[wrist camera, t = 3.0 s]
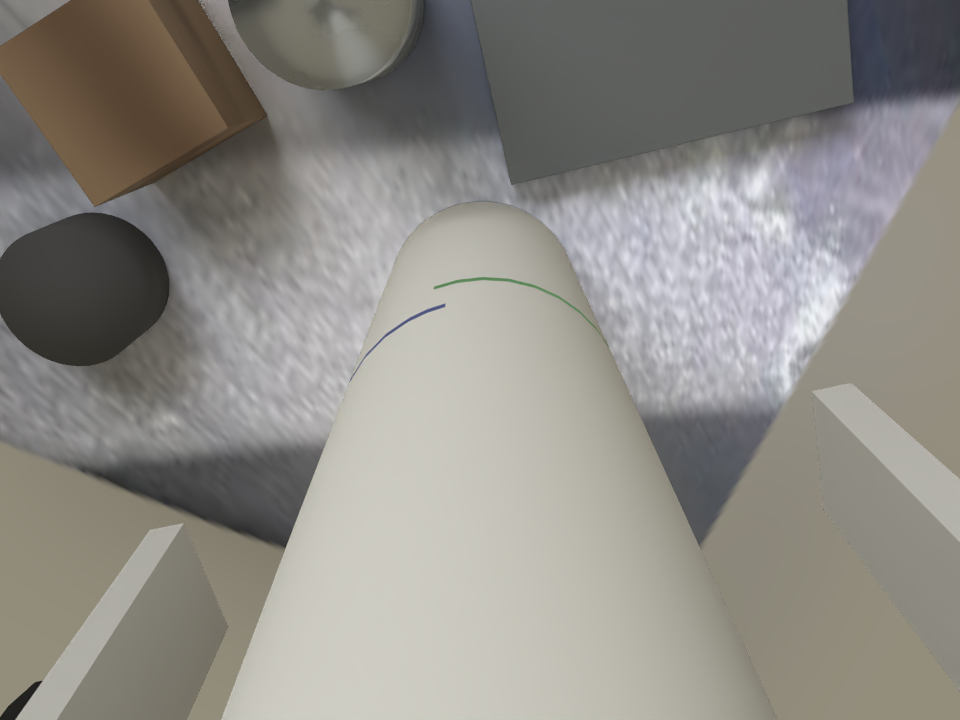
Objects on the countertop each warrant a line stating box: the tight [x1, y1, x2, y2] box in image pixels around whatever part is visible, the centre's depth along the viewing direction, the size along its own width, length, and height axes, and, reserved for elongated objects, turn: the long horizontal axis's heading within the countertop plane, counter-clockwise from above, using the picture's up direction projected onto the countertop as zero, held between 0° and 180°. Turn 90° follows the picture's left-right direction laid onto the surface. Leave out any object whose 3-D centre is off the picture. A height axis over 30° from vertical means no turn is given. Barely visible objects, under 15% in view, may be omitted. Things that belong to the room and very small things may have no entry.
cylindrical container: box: [221, 201, 778, 720], centre depth 19 cm, size 7×7×25 cm
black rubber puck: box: [0, 213, 169, 366], centre depth 29 cm, size 5×5×3 cm
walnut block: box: [0, 0, 267, 207], centre depth 26 cm, size 5×5×5 cm
